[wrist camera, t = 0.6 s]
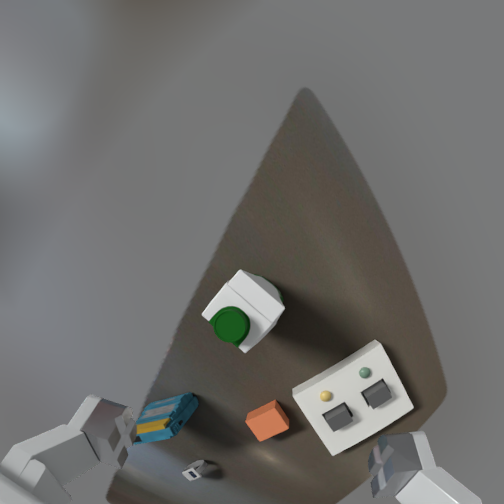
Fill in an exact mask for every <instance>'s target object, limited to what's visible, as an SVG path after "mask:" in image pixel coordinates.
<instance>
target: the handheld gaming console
mask: <svg viewBox="0 0 504 504" xmlns="http://www.w3.org/2000/svg"><path fill="white" fill-rule="evenodd" d="M198 403H199V402H198V400H197V398H196V396H194V397H193V395H192V393H190V392H189V393H185V394H182V395H178V396H175V397H171V398H167V399H164V400H160V401H156V402H152V403H150V404H149V405H148V406H147V407H145V408H144V410H145V411H144V412H142V413H141V414H142V416H141V417H139V418H138V420H137V421H136V425H137V434H136V439H135V441H134V444H141V443H147V442H153V441H159V440H164V439H169V438H171V437H174V436H176V435H177V434H178V432H179V431H180V430H181V428H182V427H183V426H184V424H185V423H186V422H187V420H188V419H189V418H190V416H191V415H192V414H193V412H194V411H195V410H196V408H197V407H198V406H199V405H198Z"/></svg>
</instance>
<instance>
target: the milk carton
mask: <svg viewBox="0 0 504 504" xmlns="http://www.w3.org/2000/svg"><path fill="white" fill-rule="evenodd" d="M228 282H229V281H228ZM228 282H227V283H228ZM227 283H226V284H225V285H224V286H223V287H222V289H221V290H220V291H219V292H218V294H217V295H216V296H215V297H214V298H213V300H212V301H211V302H210V304H209V305H208V306H207V308H206V309H205V310H204V312H203V313H202V316H203V317H205V318H206V319H207V320H208V321H209V323H210V324H211V325H212V326H213V328H214V332H215V334H216V335H217V337H218V338H219V339H221V340H222V341H225V342H232V343H233V344H234V345H235V346H236V347H239V348H240V349H241V350H242V351H243V352H244V353H246V352H247V351H248V350H249V349H251V348H252V347H253V346H254V345H256V344H257V343H258V342H259V341H260V340H261V339H262V338H263V337H264V336H265V335H266V334H267V333H268V332H269V331H270V330H271V329H272V328H273V327H274V326H275V325H276V324H277V323H276V322H277V320H278V318H279V317H280V315H281V314H282V312H283V311H284V309H285V307H284V305H283V300H284V298H283V297H282V295H281V293H280V291H279V290H278V288H277V287H275V286H274V285H273V284H272V283H271V282H270V281H269V280H267V279H266V278H265V277H263V276H260V275H256V274H254V275H253V274H250V273H248V272H245V271H243V270H239V271H238V272H237V273H236V275H235V276H234V277H233V278H232V279H231V280H230V282H229V283H228V284H227Z"/></svg>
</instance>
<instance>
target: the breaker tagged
mask: <svg viewBox="0 0 504 504" xmlns="http://www.w3.org/2000/svg"><path fill="white" fill-rule="evenodd" d="M324 415H325V419H326V422H327V423H328V425H329V426H330V428H331V429H332V431H333V432H335V431H337V430H339V429H341V428H343V427H344V426H346V425H348V424H350V423H351V422H353V419H352V417H351V415H350V412H349V411H348V409H347V407H346V406H345V404H344V402H343V403H341V404H340V405H338V406H336V407H334V408H333V409H331V410H329V411H327V412H325V413H324Z"/></svg>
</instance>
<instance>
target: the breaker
mask: <svg viewBox="0 0 504 504" xmlns="http://www.w3.org/2000/svg"><path fill="white" fill-rule="evenodd" d="M362 392H363V394H364V396H365V397H366V399H367V401H368V402H369V404H370V406H371V407H372V409H375V408H377V407H378V406H380V405H381V404H383V403H385V402H386V401H388V400H389V399H391V398H392V396H391V394H390V392H389V390H388V388H387V386H386V385H385V384H384V383H383V381H382V380H379V381H378V382H376V383H374V384H373V385H371V386H370V387H368V388H366V389H365V390H363V391H362Z"/></svg>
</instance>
